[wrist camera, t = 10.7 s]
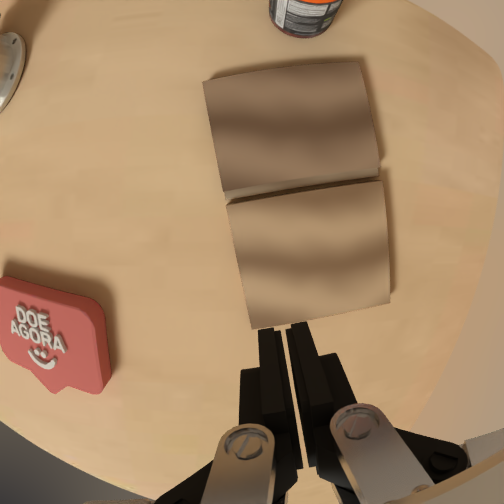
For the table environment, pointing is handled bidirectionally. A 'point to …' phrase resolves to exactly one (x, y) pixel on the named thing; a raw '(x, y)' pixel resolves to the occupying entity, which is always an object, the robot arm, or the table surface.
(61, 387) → the plaque
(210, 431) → the table surface
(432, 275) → the table surface
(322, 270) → the plank
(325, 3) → the supplement bottle
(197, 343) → the table surface
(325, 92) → the brown wooden board
